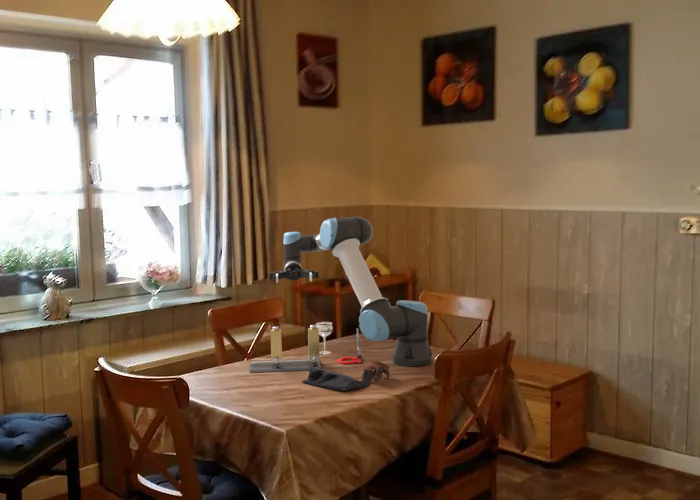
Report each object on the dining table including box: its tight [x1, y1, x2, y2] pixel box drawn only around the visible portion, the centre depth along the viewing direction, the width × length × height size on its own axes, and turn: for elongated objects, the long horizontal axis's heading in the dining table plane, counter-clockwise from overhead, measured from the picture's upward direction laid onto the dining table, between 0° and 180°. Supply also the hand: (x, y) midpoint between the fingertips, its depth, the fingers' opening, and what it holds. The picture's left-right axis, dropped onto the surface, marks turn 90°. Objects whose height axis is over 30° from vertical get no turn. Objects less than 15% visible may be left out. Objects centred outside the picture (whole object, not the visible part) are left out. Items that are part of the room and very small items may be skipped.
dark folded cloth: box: [301, 368, 371, 392], centre depth 261 cm, size 15×22×5 cm
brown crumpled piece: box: [360, 359, 390, 385], centre depth 263 cm, size 12×10×8 cm
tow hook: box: [337, 328, 363, 365], centre depth 288 cm, size 8×13×9 cm
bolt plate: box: [249, 324, 321, 373], centre depth 283 cm, size 26×12×15 cm, turn 95°
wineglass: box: [315, 321, 334, 355], centre depth 302 cm, size 7×7×12 cm
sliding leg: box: [269, 325, 283, 365], centre depth 281 cm, size 4×7×13 cm, turn 5°
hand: (294, 278), depth 301 cm, fingers open, 13 cm apart
